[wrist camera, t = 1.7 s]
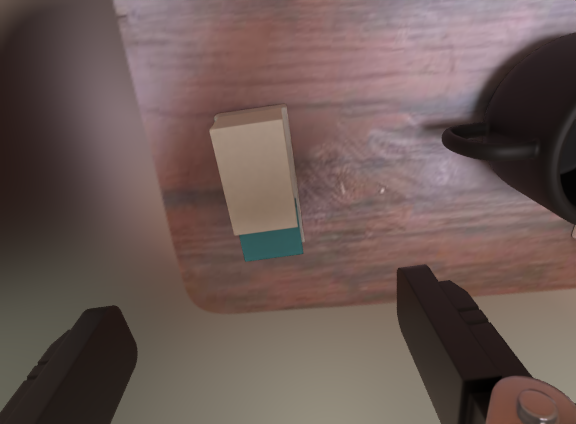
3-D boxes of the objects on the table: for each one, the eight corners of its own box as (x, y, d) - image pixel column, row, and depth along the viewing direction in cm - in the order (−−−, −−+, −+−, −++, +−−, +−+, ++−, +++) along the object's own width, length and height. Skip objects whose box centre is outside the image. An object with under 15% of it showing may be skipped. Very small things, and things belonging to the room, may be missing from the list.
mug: (641, 20, 19) (823, 10, 13) (595, 173, 23) (716, 223, 17) (424, 46, 19) (497, 49, 13) (415, 193, 23) (468, 250, 17)
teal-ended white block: (216, 113, 21) (202, 130, 17) (286, 103, 21) (288, 118, 17) (245, 241, 25) (239, 279, 21) (303, 233, 25) (309, 270, 21)
